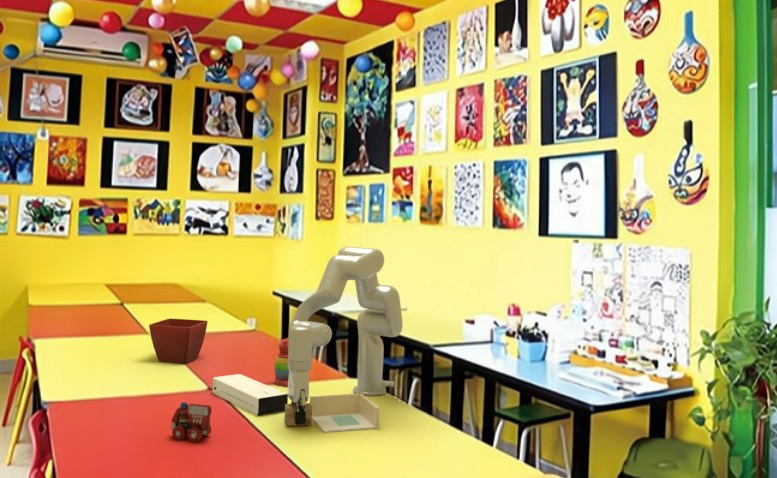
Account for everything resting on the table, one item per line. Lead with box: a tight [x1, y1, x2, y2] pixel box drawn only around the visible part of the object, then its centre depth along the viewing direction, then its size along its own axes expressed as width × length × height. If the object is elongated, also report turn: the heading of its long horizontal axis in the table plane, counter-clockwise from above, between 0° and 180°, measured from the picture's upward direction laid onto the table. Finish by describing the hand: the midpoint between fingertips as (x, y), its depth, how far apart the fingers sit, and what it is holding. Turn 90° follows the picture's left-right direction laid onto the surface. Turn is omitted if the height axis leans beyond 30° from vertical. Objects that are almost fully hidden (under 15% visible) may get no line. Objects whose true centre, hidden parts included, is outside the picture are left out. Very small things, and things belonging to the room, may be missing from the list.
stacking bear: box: [273, 337, 289, 388], centre depth 266 cm, size 11×10×18 cm
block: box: [284, 402, 313, 427], centre depth 216 cm, size 8×5×6 cm, turn 105°
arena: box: [309, 393, 380, 434], centre depth 220 cm, size 18×18×7 cm
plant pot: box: [148, 318, 208, 364], centre depth 299 cm, size 19×19×17 cm
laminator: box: [211, 373, 289, 417], centre depth 239 cm, size 34×12×6 cm, turn 40°
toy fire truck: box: [171, 401, 212, 443], centre depth 199 cm, size 7×12×10 cm, turn 74°
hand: (298, 420), depth 216 cm, fingers closed on block, 5 cm apart
